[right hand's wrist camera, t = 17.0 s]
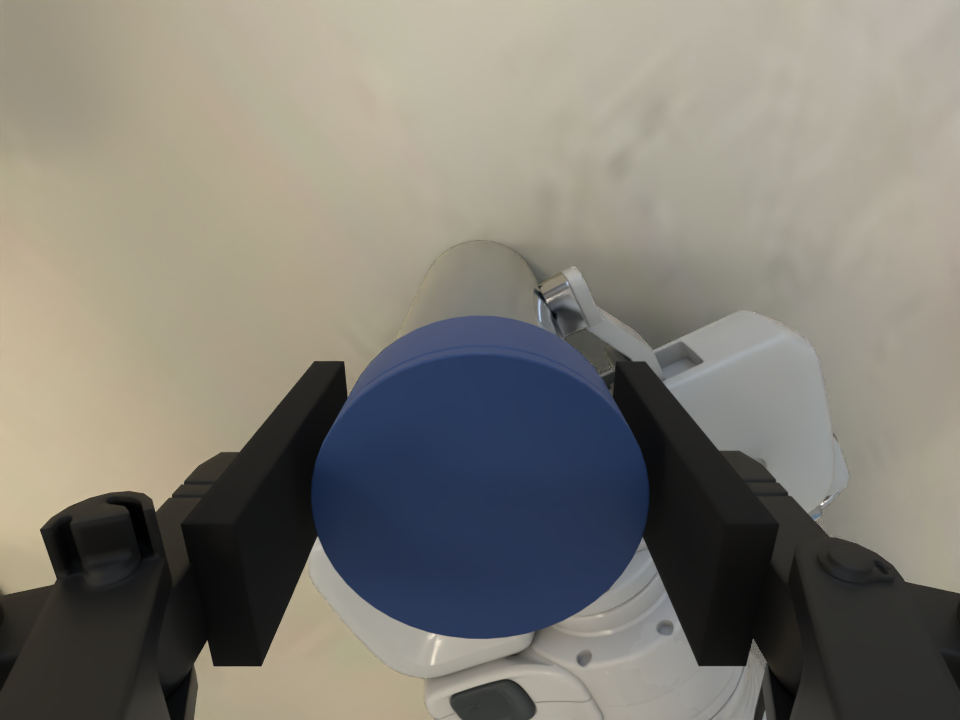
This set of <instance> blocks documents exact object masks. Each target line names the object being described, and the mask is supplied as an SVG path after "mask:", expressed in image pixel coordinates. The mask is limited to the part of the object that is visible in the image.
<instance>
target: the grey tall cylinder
mask: <svg viewBox="0 0 960 720" xmlns="http://www.w3.org/2000/svg"><path fill="white" fill-rule="evenodd" d="M537 284H538V282H537V280H536V278H535V275H534V273H533V272H532V270H531V268H530V267H529V265H528V264H527V262H526V261H525V260H524V259H523V258H522V257H521V256H520V255H519V254H517V253H516V252H515V251H513V250H512V249H510V248H508V247H506V246H504V245H502V244H499V243H495V242H490V241H469V242H465V243H461V244H459V245H456V246H454V247H452V248H450V249H449V250H447V251H446V252H444V253H443V254H442V255H440V256H439V257H438V258H437V259H436V260H435V262H434V263H433V264H432V265H431V267H430V269H429V270H428V272H427V274H426V276H425V278H424V280H423V282H422V284H421V287H420V289H419V291H418V293H417V295H416V297H415V299H414V301H413V303H412V306H411V308H410V310H409V312H408V314H407V316H406V318H405V320H404V323H403V325H402V327H401V329H400V331H399V333H398V335H397V337H396V339H395V341H396V340H397V339H399V338H401V337H402V336H404V335H406V334H408V333H410V332H412V331H414V330H415V329H418V328H420V327H423V326H426V325H428V324H431V323H434V322H437V321H441V320H446V319H450V318H455V317H464V316H497V317H504V318H511V319H515V320H519V321H523V322H526V323H530V324H533V325H535V326H537V327H540V328H542V329H544V330H547V331H549V332H551V333H553V334H554V335H556V336H558V337H559V338H561V339H563V340H564V341H565V339H564V337H563V335H562V332H561V330H560V328H559V326H558V324H557V322H556V320H555V318H554V316H553V313H552V311H551V310H550V308H549V307H548V306H547V304H546V302H545V300H544V298H543V296H542V293H541V291H540V289H539V287H538V285H537Z"/></svg>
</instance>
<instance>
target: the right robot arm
mask: <svg viewBox="0 0 960 720" xmlns="http://www.w3.org/2000/svg"><path fill="white" fill-rule="evenodd" d="M613 399H614V401H615V402H616V404H617V406H618V408H619V410H620V411H621V413H622V415H623V417H624V418H625V420H626V422H627V424H628V426H629V427H630V429H631V431H632V433H633V435H634V437H635V439H636V441H637V443H638V445H639V447H640V449H641V452H642V455H643V458H644V461H645V464H646V468H647V475H648V481H649V510H648V516H647V523H646V527H645V530H644V533H643V539H644V541H645V543H646V546H647V548H648V550H649V552H650V555H651V557H652V559H653V562H654V564H655V566H656V569H657V571H658V573H659V576H660V578H661V580H662V583H663V585H664V587H665V590H666V592H667V594H668V596H669V599H670V601H671V603H672V606H673V608H674V610H675V613H676V615H677V617H678V620H679V622H680V624H681V627H682V629H683V631H684V633H685V636H686V638H687V640H688V643H689V645H690V647H691V650H692V652H693V654H694V657H695V659H696V661H697V664H698V666H746V665H747V661H748V656H749V652H750V648H751V644H752V639H753V638H754V640H755V642H756V644H757V645H758V647H759V649H760V651H761V652H762V654H763V656H764V658H765V659H766V661H767V664H766V668H765V671H764V675H763V679H762V683H761V687H760V691H759V695H758V699H757V703H756V707H755V713H754V720H762V719H763V715H764V711H766V719H767V720H960V594H959V593H955V592H950V591H945V590H940V589H936V588H931V587H926V586H922V585H917V584H912V583H908V582H905V581H904V579H903V578H902V576H901V575H900V574H899V573H898V571H897V570H896V569H895V568H894V566H893V565H892V564H890V563H889V562H888V561H886V560H885V559H883V558H882V557H881V556H879V555H878V554H877V553H875V552H873V551H871V550H869V549H866V548H864V547H862V546H860V545H858V544H856V543H852V542H849V541H845V540H842V539H839V538H832V537H829V536H828V535H827V534H826V533H825V532H824V531H823V529H822V528H821V527H820V526H819V525H818V524H817V523H816V522H815V521H814V520H813V519H812V518H811V517H810V515H809V514H808V513H807V512H806V511H805V510H804V509H803V508H802V507H801V506H800V505H799V504H798V503H797V501H796V500H795V499H794V498H793V497H792V496H788V492H787V491H786V490H785V489H784V487H783V486H782V485H781V484H780V483H776V479H775V478H774V477H773V476H772V475H771V473H770V472H769V471H768V470H767V469H766V468H765V467H764V466H763V465H762V464H761V463H759V462H758V461H756V460H754V459H753V458H751V457H749V456H748V455H746V454H744V453H742V452H741V451H719V450H718V449H717V448H716V446H715V445H714V444H713V443H712V442H711V440H710V439H709V438H708V437H707V435H706V434H705V433H704V432H703V431H702V429H701V428H700V427H699V426H698V425H697V423H696V422H695V421H694V420H693V418H692V417H691V416H690V415H689V414H688V412H687V411H686V410H685V409H684V408H683V406H682V405H681V404H680V403H679V401H678V400H677V399H676V398H675V397H674V395H673V394H672V393H671V392H670V391H669V389H668V388H667V387H666V386H665V384H664V383H663V382H662V381H661V380H660V378H659V377H658V376H657V375H656V374H655V372H654V371H653V370H652V369H651V367H650V366H649V365H648V364H647V363H646V361H616V366H615V376H614V387H613ZM346 400H347V387H346V376H345V366H344V361H314V363H313V364H312V365H311V366H310V367H309V369H308V370H307V371H306V372H305V374H304V375H303V376H302V377H301V378H300V380H299V381H298V382H297V383H296V384H295V386H294V387H293V388H292V389H291V391H290V392H289V393H288V394H287V395H286V397H285V398H284V399H283V400H282V401H281V403H280V404H279V405H278V406H277V408H276V409H275V410H274V411H273V412H272V414H271V415H270V416H269V417H268V418H267V420H266V421H265V422H264V423H263V425H262V426H261V427H260V428H259V429H258V431H257V432H256V433H255V434H254V435H253V437H252V438H251V439H250V440H249V442H248V443H247V444H246V445H245V446H244V448H243V449H242V450H241V451H240V452H221V453H219V454H217V455H216V456H214V457H212V458H211V459H209V460H207V461H206V462H204V463H202V464H201V465H199V466H198V467H197V468H196V469H195V470H194V471H193V472H192V474H191V475H190V476H189V477H188V478H187V479H186V480H185V481H184V485H181V486H180V487H179V488H178V489H177V490H176V491H175V492H174V493H173V494H172V498H169V499H168V500H167V501H166V502H165V503H164V504H163V505H162V506H161V507H160V508H159V509H158V510H157V512H156V513H155V509H154V505H153V501H152V499H151V498H149V497H148V496H147V495H145V494H144V493H138V492H132V491H125V492H113V493H107V494H104V495H100V496H96V497H92V498H88V499H86V500H84V501H81V502H79V503H77V504H74V505H72V506H69V507H68V508H66V509H64V510H63V511H61V512H60V513H58V514H57V515H55V516H53V517H52V518H51V519H50V520H49V521H48V522H47V523H46V524H45V525H44V526H43V527H42V528H41V529H40V531H41V534H42V537H43V540H44V543H45V546H46V549H47V552H48V554H49V557H50V560H51V563H52V566H53V569H54V572H55V575H56V578H57V580H56V582H55V584H54V585H50V586H46V587H41V588H36V589H31V590H27V591H22V592H17V593H13V594H8V595H3V596H0V720H194V713H195V705H196V697H197V690H198V684H197V676H196V671H195V668H194V662H195V661H196V659H197V657H198V655H199V654H200V652H201V650H202V648H203V647H204V645H205V643H206V641H207V640H208V644H209V648H210V652H211V657H212V661H213V665H214V666H262V664H263V661H264V659H265V657H266V654H267V652H268V650H269V647H270V645H271V643H272V640H273V638H274V636H275V633H276V631H277V629H278V626H279V624H280V622H281V620H282V617H283V615H284V613H285V610H286V608H287V606H288V603H289V601H290V599H291V596H292V594H293V592H294V589H295V587H296V585H297V583H298V580H299V578H300V576H301V573H302V571H303V569H304V566H305V564H306V562H307V559H308V557H309V555H310V552H311V550H312V548H313V546H314V543H315V541H316V539H317V536H318V535H317V532H316V528H315V524H314V520H313V515H312V505H311V485H312V476H313V472H314V467H315V462H316V459H317V456H318V454H319V451H320V448H321V446H322V443H323V441H324V439H325V438H326V436H327V434H328V432H329V430H330V429H331V427H332V425H333V423H334V421H335V420H336V418H337V416H338V414H339V413H340V411H341V409H342V407H343V405H344V404H345V402H346Z"/></svg>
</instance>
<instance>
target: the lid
mask: <svg viewBox="0 0 960 720" xmlns="http://www.w3.org/2000/svg"><path fill="white" fill-rule="evenodd" d="M311 505H312V515H313V520H314V524H315V528H316V532H317V535H318V538H319V540H320V543H321V545H322V547H323V550H324V552H325V554H326V556H327V557H328V559H329V561H330V562H331V564H332V566H333V567H334V569H335V570H336V572H337V573H338V574H339V575H340V576H341V578H342V579H343V580H344V581H345V583H346V584H347V585H348V586H349V587H350V588H351V589H352V590H353V591H354V592H355V593H356V594H358V595H359V596H360V597H361V598H362V599H363V600H365V601H366V602H367V603H369V604H370V605H371V606H373V607H374V608H375V609H377V610H379V611H381V612H382V613H384V614H386V615H387V616H389V617H391V618H393V619H395V620H397V621H399V622H402V623H404V624H406V625H408V626H411V627H414V628H417V629H420V630H423V631H426V632H429V633H434V634H439V635H443V636H448V637H457V638H465V639H493V638H505V637H512V636H517V635H522V634H527V633H531V632H534V631H537V630H541V629H544V628H547V627H549V626H552V625H554V624H557V623H559V622H562V621H564V620H566V619H567V618H569V617H571V616H573V615H575V614H577V613H579V612H580V611H582V610H583V609H585V608H586V607H587V606H589V605H590V604H592V603H593V602H595V601H596V600H597V599H598V598H599V597H601V596H602V595H603V594H604V593H605V592H606V591H607V590H608V589H609V588H610V587H611V586H612V585H613V584H614V583H615V582H616V581H617V579H618V578H619V577H620V576H621V575H622V574H623V572H624V571H625V569H626V568H627V566H628V565H629V563H630V562H631V560H632V559H633V557H634V555H635V553H636V550H637V548H638V546H639V544H640V542H641V539H642V536H643V533H644V530H645V527H646V523H647V516H648V510H649V481H648V475H647V468H646V464H645V461H644V458H643V455H642V452H641V449H640V447H639V445H638V443H637V441H636V439H635V437H634V435H633V433H632V431H631V429H630V427H629V426H628V424H627V422H626V420H625V418H624V417H623V415H622V413H621V411H620V410H619V408H618V406H617V404H616V402H615V401H614V399H613V397H612V395H611V393H610V392H609V390H608V388H607V386H606V385H605V383H604V381H603V379H602V378H601V377H600V375H599V374H598V372H597V371H596V370H595V368H594V367H593V366H592V364H591V363H590V362H589V361H588V360H587V359H586V358H585V357H584V356H583V355H582V354H581V353H580V352H579V351H577V350H576V349H575V348H574V347H572V346H571V345H570V344H569V343H567V342H566V341H564V340H563V339H561V338H559V337H558V336H556V335H554V334H553V333H551V332H549V331H547V330H544V329H542V328H540V327H537V326H535V325H533V324H530V323H526V322H523V321H519V320H515V319H511V318H504V317H497V316H464V317H455V318H450V319H446V320H441V321H437V322H434V323H431V324H428V325H426V326H423V327H420V328H418V329H415V330H414V331H412V332H410V333H408V334H406V335H404V336H402V337H401V338H399V339H397V340H396V341H395V342H393V343H392V344H391V345H389V346H388V347H386V348H385V349H384V350H383V351H382V352H381V353H380V354H379V355H378V356H377V357H376V358H375V359H373V360H372V361H371V363H370V364H369V365H368V366H367V368H366V369H365V370H364V372H363V373H362V374H361V375H360V377H359V379H358V380H357V382H356V384H355V386H354V387H353V389H352V391H351V393H350V395H349V396H348V398H347V400H346V402H345V404H344V405H343V407H342V409H341V411H340V413H339V414H338V416H337V418H336V420H335V421H334V423H333V425H332V427H331V429H330V430H329V432H328V434H327V436H326V438H325V439H324V441H323V443H322V446H321V448H320V451H319V454H318V456H317V459H316V462H315V467H314V472H313V476H312V485H311Z"/></svg>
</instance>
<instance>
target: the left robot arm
mask: <svg viewBox="0 0 960 720" xmlns="http://www.w3.org/2000/svg"><path fill="white" fill-rule="evenodd" d="M537 285H538V287H539V289H540V291H541V293H542V296H543V298H544V300H545V302H546V304H547V306H548V307H549V308H550V310H551V311H552V313H553V316H554V318H555V320H556V322H557V324H558V326H559V328H560V330H561V332H562V335H563V337H564V338H565V337H567V336H569V335H572V334H574V333H576V332H578V331H580V330H583V329H586V330H587V331H589V332H590V333H592V334H593V335H595V336H596V337H598V338H599V339H601V340H602V341H604V342H605V343H607V344H608V346H606V347H605V349H604V352H605V354H606V356H607V358H608V361H609V363H610V365H611V367H612V369H611V370H609V371H607V372H605V373H602V374H600V377H601V378H602V379H603V381H604V383H605V385H606V386H607V388H608V390H609V392H610V393H611V395H612V397H613V387H614V376H615V366H616V361H646V363H647V364H648V365H649V366H650V367H651V369H652V370H653V371H654V372H655V374H656V375H657V376H658V377H659V378H660V380H661V381H662V382H663V383H664V384H665V386H666V387H667V388H668V389H669V391H670V392H671V393H672V394H673V395H674V397H675V398H676V399H677V400H678V401H679V403H680V404H681V405H682V406H683V408H684V409H685V410H686V411H687V412H688V414H689V415H690V416H691V417H692V418H693V420H694V421H695V422H696V423H697V425H698V426H699V427H700V428H701V429H702V431H703V432H704V433H705V434H706V435H707V437H708V438H709V439H710V440H711V442H712V443H713V444H714V445H715V446H716V448H717V449H718V450H719V451H741V452H742V453H744V454H746V455H748V456H749V457H751V458H753V459H754V460H756V461H758V462H759V463H761V464H762V465H763V466H764V467H765V468H766V469H767V470H768V471H769V472H770V473H771V475H772V476H773V477H774V478H775V479H776V483H780V484H781V485H782V486H783V487H784V489H785V490H786V491H787V492H788V496H792V497H793V498H794V499H795V500H796V501H797V503H798V504H799V505H800V506H801V507H802V508H803V509H804V510H805V511H806V512H807V513H808V514H809V515H810V517H811V518H812V519H813V520H814V521H815V522H816V521H818V520H819V519H820V518H822V515H823V514H822V511H821V509H823V508H824V507H826V506H827V505H829V504H830V503H831V502H832V501H833V500H834V499H835V498H836V497H837V496H838V495H839V493H840V492H841V491H842V490H844V489H845V488H846V487H847V485H848V481H849V474H848V469H847V466H846V463H845V459H844V456H843V453H842V450H841V447H840V445H839V442H838V440H837V438H836V436H835V435H834V433H833V431H832V421H831V414H830V408H829V401H828V396H827V391H826V386H825V381H824V377H823V372H822V368H821V364H820V361H819V358H818V355H817V352H816V350H815V348H814V347H813V345H812V344H811V343H810V342H809V341H808V340H807V339H806V338H805V337H804V336H802V335H801V334H799V333H798V332H797V331H795V330H793V329H792V328H790V327H788V326H786V325H785V324H783V323H781V322H778V321H776V320H774V319H771V318H769V317H766V316H764V315H761V314H758V313H756V312H753V311H749V310H741V311H738V312H735V313H732V314H730V315H728V316H726V317H724V318H721V319H719V320H717V321H715V322H713V323H711V324H708V325H706V326H704V327H702V328H700V329H698V330H695V331H693V332H691V333H689V334H687V335H685V336H682V337H680V338H678V339H676V340H674V341H672V342H670V343H667V344H665V345H663V346H661V347H659V348H657V349H654V350H653V349H652V348H651V347H650V346H649V345H648V344H647V343H646V342H645V341H644V340H643V338H642V337H641V336H640V335H639V334H638V333H637V332H636V331H635V330H633V329H632V328H630V327H629V326H627V325H625V324H624V323H622V322H621V321H619V320H618V319H616V318H615V317H613V316H612V315H610V314H608V313H607V312H605V311H604V310H602V309H601V308H599V307H598V306H596V304H595V302H594V299H593V297H592V295H591V293H590V291H589V288H588V286H587V284H586V282H585V280H584V278H583V277H582V275H581V273H580V271H579V270H578V269H577V268H576V267H575V266H572V267H570V268H568V269H566V270H564V271H562V272H560V273H558V274H556V275H554V276H552V277H550V278H548V279H546V280H544V281H542V282H541V283H539V284H537ZM307 569H308V573H309V577H310V578H311V580H312V582H313V584H314V585H315V587H316V588H317V590H318V591H319V593H320V594H321V595H322V597H323V598H324V599H325V600H326V602H327V603H328V604H329V606H330V607H331V608H332V609H333V611H334V612H335V613H336V614H337V615H338V616H339V618H340V619H341V620H342V621H343V622H344V624H345V625H346V626H347V627H348V628H349V629H350V630H351V631H352V632H353V634H354V635H355V636H356V637H357V638H358V639H359V640H360V641H361V642H362V643H363V644H364V645H365V646H366V647H367V648H368V649H369V650H370V651H371V652H372V653H373V654H374V655H375V656H376V657H377V658H378V659H379V660H380V661H381V662H383V663H384V664H385V665H387V666H388V667H390V668H391V669H393V670H395V671H397V672H399V673H401V674H404V675H406V676H410V677H415V678H424V699H425V706H426V709H427V710H428V712H429V714H430V715H431V716H432V718H433V719H434V720H754V713H755V707H756V703H757V699H758V695H759V691H760V687H761V683H762V679H763V675H764V671H765V670H764V668H763V667H762V665H761V664H760V662H759V661H758V659H757V658H756V657H755V656H754V654H753V653H752V652H751V651H750V652H749V656H748V661H747V665H746V666H698V664H697V661H696V659H695V657H694V654H693V652H692V650H691V647H690V645H689V643H688V640H687V638H686V636H685V633H684V631H683V629H682V627H681V624H680V622H679V620H678V617H677V615H676V613H675V610H674V608H673V606H672V603H671V601H670V599H669V596H668V594H667V592H666V590H665V587H664V585H663V583H662V580H661V578H660V576H659V573H658V571H657V569H656V566H655V564H654V562H653V559H652V557H651V555H650V552H649V550H648V548H647V546H646V543H645V541H644V539H643V536H642V539H641V542H640V544H639V546H638V548H637V550H636V553H635V555H634V557H633V559H632V560H631V562H630V563H629V565H628V566H627V568H626V569H625V571H624V572H623V574H622V575H621V576H620V577H619V578H618V579H617V581H616V582H615V583H614V584H613V585H612V586H611V587H610V588H609V589H608V590H607V591H606V592H605V593H604V594H603V595H602V596H601V597H599V598H598V599H597V600H596V601H595V602H593V603H592V604H590V605H589V606H587V607H586V608H585V609H583V610H582V611H580V612H579V613H577V614H575V615H573V616H571V617H569V618H567V619H566V620H564V621H562V622H559V623H557V624H554V625H552V626H549V627H547V628H544V629H541V630H537V631H534V632H531V633H527V634H522V635H517V636H512V637H505V638H493V639H465V638H457V637H448V636H443V635H439V634H434V633H429V632H426V631H423V630H420V629H417V628H414V627H411V626H408V625H406V624H404V623H402V622H399V621H397V620H395V619H393V618H391V617H389V616H387V615H386V614H384V613H382V612H381V611H379V610H377V609H375V608H374V607H373V606H371V605H370V604H369V603H367V602H366V601H365V600H363V599H362V598H361V597H360V596H359V595H358V594H356V593H355V592H354V591H353V590H352V589H351V588H350V587H349V586H348V585H347V584H346V583H345V581H344V580H343V579H342V578H341V576H340V575H339V574H338V573H337V572H336V570H335V569H334V567H333V566H332V564H331V562H330V561H329V559H328V557H327V556H326V554H325V552H324V550H323V547H322V545H321V543H320V540H319V538H318V536H317V539H316V541H315V543H314V546H313V548H312V550H311V552H310V555H309V557H308V559H307ZM762 720H767V719H766V711H764V715H763V719H762Z"/></svg>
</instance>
